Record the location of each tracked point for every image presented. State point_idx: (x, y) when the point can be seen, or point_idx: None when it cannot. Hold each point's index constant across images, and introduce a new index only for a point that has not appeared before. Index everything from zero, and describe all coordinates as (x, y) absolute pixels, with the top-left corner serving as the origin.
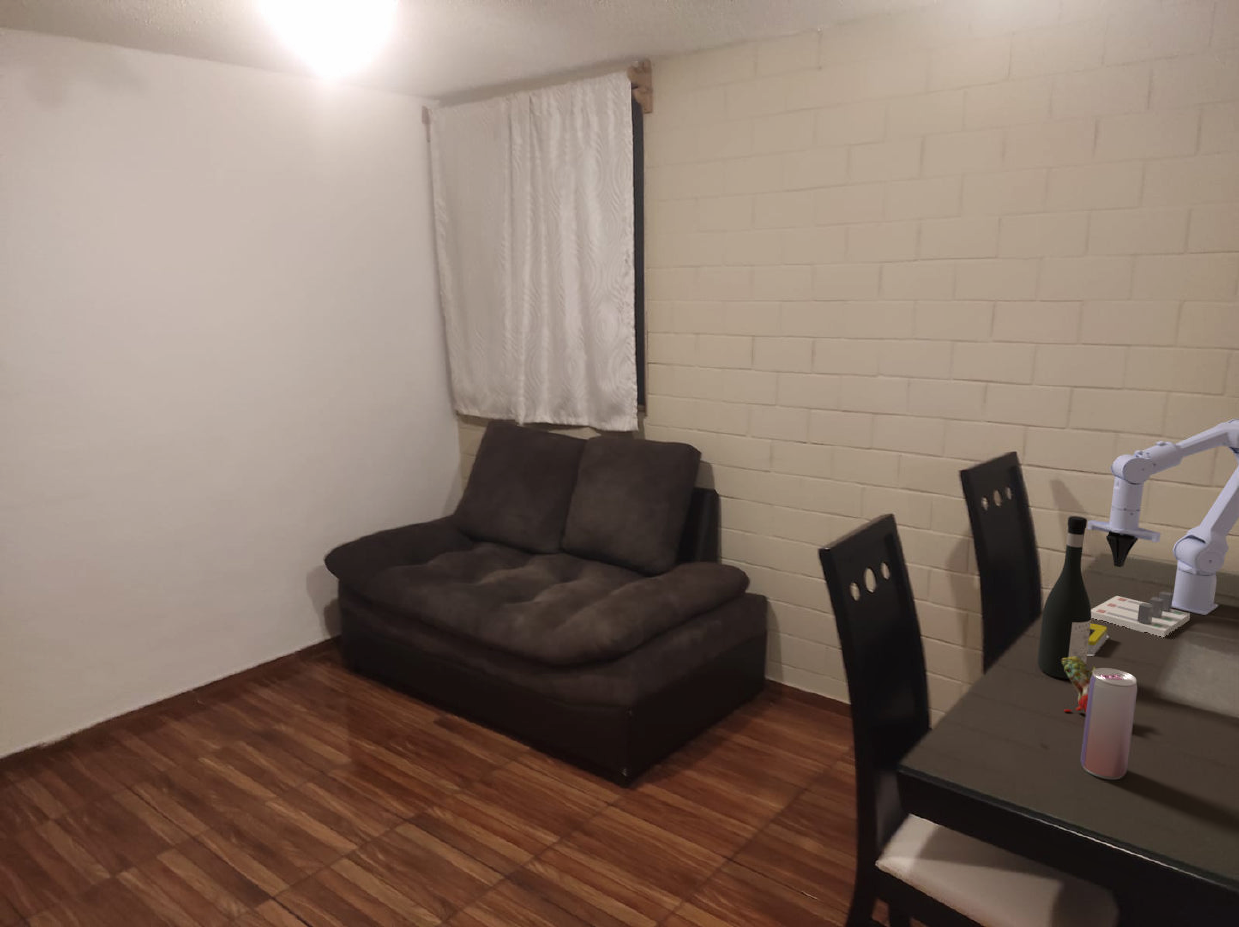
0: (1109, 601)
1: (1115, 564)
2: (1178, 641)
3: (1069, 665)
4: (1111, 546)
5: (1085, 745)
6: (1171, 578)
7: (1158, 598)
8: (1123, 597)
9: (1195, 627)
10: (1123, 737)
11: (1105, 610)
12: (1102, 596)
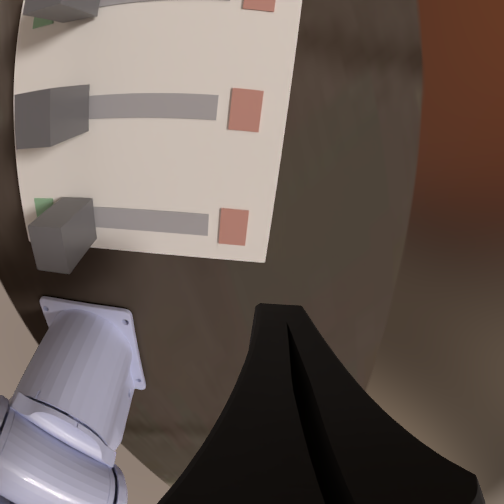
0: (269, 162)
1: (295, 310)
2: (9, 6)
3: None
4: (387, 429)
5: None
6: None
7: (31, 138)
8: (237, 259)
9: (8, 176)
10: None
11: (249, 16)
12: (314, 276)
